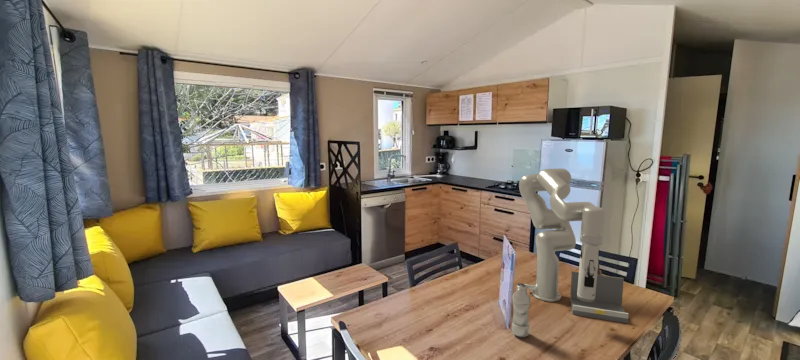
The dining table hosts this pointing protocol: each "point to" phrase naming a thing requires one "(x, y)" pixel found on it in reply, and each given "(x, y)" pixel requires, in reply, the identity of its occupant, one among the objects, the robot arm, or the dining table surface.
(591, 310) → the grey bookend
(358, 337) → the dining table surface
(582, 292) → the travel mug
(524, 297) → the plastic bottle
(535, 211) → the robot arm
